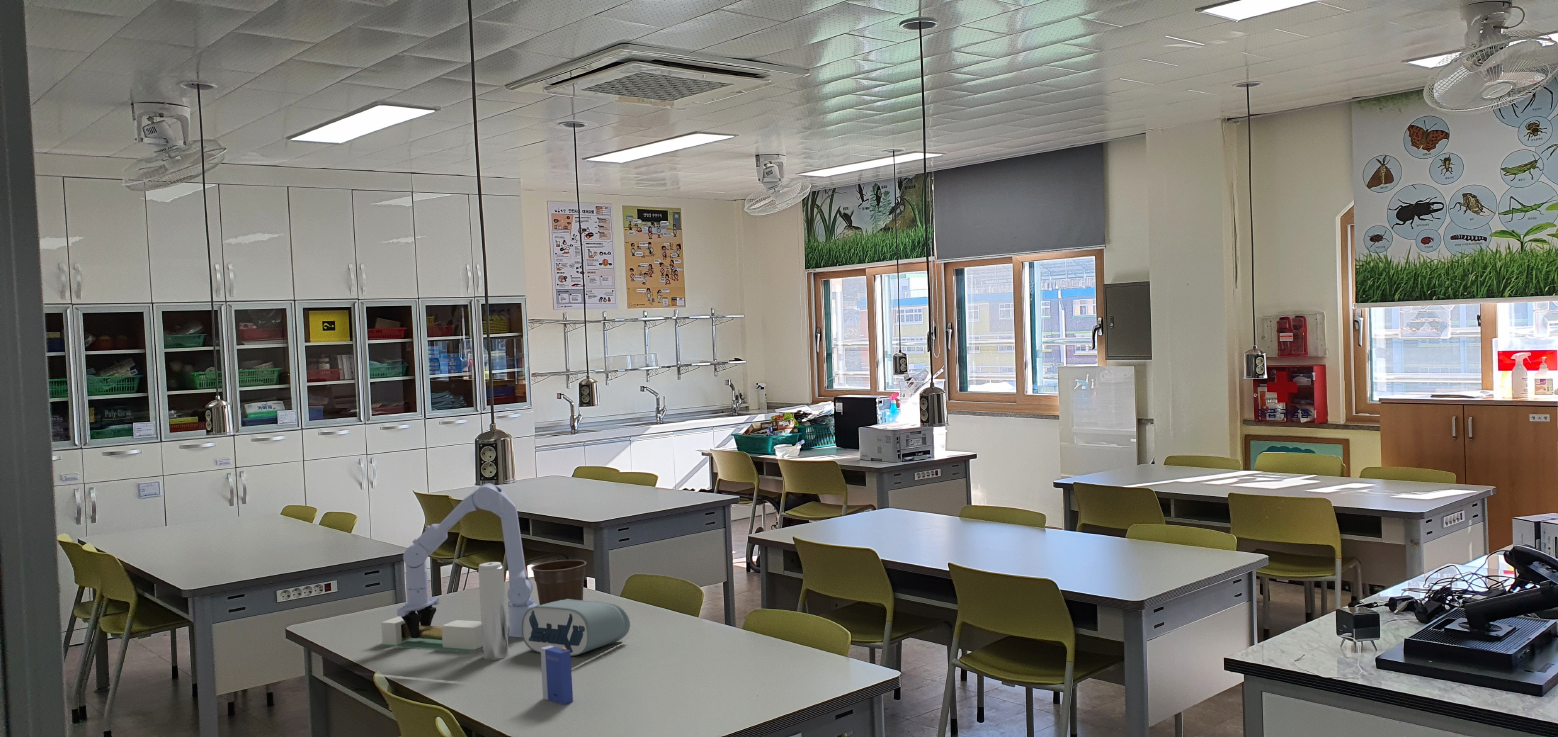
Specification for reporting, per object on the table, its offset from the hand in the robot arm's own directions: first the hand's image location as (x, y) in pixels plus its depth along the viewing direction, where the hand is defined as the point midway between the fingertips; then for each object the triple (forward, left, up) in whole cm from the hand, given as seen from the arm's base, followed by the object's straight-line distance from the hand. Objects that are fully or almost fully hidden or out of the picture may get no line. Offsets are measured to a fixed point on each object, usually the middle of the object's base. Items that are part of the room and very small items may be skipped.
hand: (420, 635), depth 306 cm
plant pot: (-24, -34, -2) cm, 41 cm away
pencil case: (-48, -7, -3) cm, 48 cm away
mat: (-6, 0, -2) cm, 6 cm away
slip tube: (-4, 0, -1) cm, 4 cm away
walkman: (-69, +32, -2) cm, 76 cm away
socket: (+7, 0, -2) cm, 7 cm away
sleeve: (-16, 0, -2) cm, 16 cm away
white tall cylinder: (-32, +7, -2) cm, 32 cm away
